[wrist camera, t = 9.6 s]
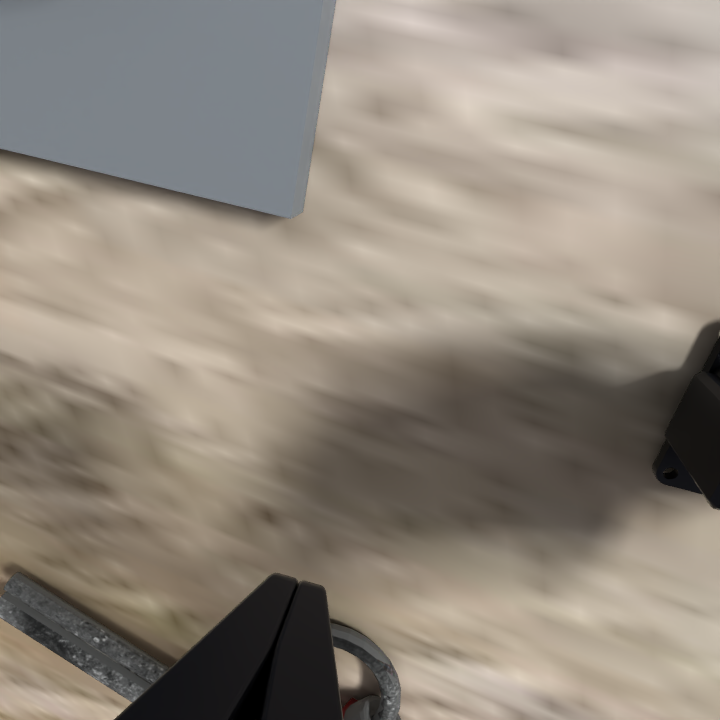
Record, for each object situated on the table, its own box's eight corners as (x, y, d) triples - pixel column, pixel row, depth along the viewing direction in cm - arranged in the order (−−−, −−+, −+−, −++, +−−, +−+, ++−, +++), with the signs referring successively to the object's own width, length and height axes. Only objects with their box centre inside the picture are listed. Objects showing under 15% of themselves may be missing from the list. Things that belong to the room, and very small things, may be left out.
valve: (525, 694, 30) (371, 848, 34) (117, 426, 29) (9, 618, 33) (550, 818, 23) (358, 988, 28) (33, 483, 23) (-87, 710, 27)
